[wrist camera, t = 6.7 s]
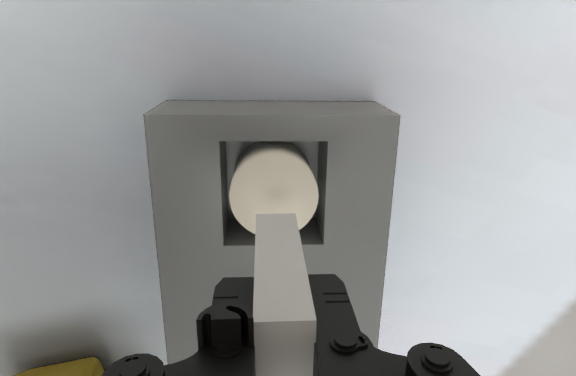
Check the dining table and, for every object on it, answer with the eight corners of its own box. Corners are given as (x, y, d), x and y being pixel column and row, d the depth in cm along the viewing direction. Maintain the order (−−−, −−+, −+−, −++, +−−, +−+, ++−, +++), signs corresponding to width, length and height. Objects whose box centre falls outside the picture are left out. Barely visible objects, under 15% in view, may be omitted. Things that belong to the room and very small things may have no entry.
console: (191, 412, 32) (178, 477, 27) (166, 100, 24) (143, 114, 20) (350, 406, 33) (365, 468, 28) (374, 101, 25) (400, 115, 20)
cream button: (234, 214, 25) (230, 238, 22) (232, 139, 23) (227, 153, 20) (310, 213, 25) (317, 237, 22) (312, 139, 23) (320, 153, 20)
